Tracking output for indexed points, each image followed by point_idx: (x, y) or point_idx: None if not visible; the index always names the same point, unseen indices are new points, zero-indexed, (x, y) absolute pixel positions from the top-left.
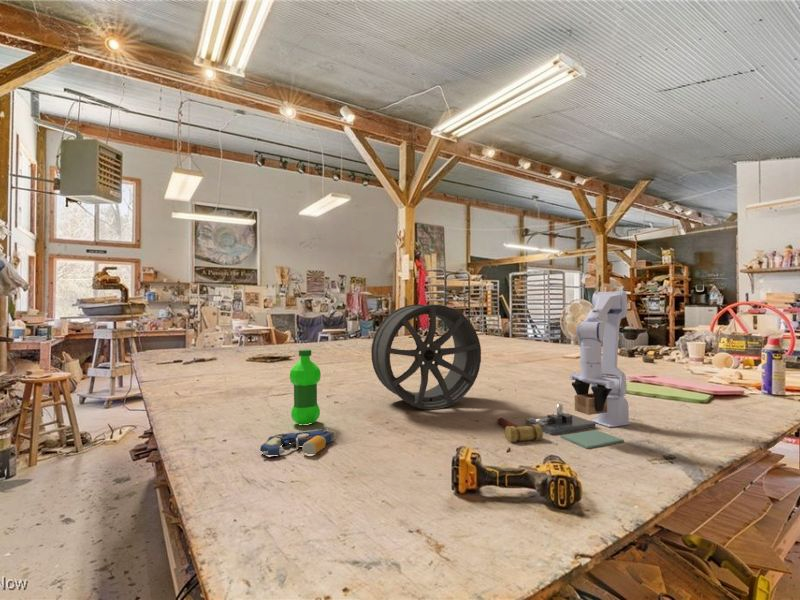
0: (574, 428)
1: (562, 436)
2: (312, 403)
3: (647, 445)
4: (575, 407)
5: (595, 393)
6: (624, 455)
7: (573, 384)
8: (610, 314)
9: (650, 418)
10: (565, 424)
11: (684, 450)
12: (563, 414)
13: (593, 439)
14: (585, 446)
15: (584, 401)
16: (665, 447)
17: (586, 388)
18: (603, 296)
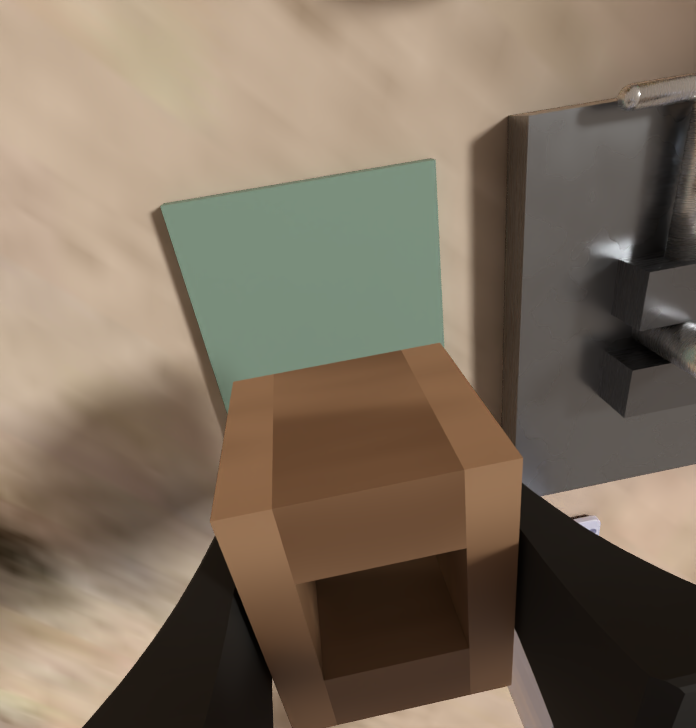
0: (511, 349)
1: (411, 162)
2: None
3: (189, 554)
4: (440, 361)
5: (151, 703)
6: (28, 368)
7: None
8: None
9: (502, 713)
10: (573, 317)
11: (109, 641)
12: (683, 381)
13: (295, 344)
14: (173, 203)
15: (298, 462)
16: (153, 602)
17: (562, 709)
18: None
